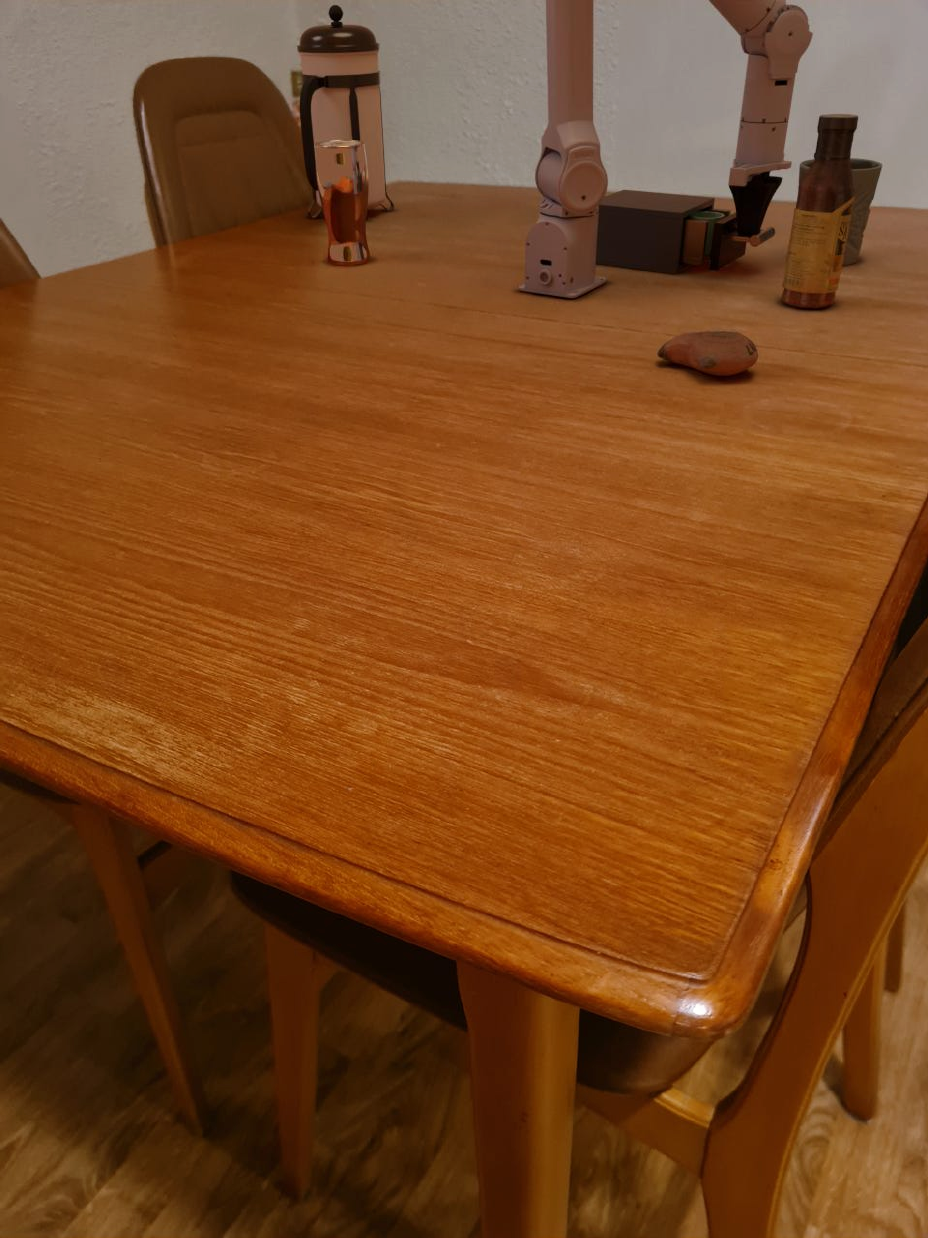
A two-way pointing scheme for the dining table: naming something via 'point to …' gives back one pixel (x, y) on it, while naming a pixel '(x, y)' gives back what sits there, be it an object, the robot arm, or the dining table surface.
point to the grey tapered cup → (856, 201)
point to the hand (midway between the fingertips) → (747, 237)
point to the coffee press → (342, 98)
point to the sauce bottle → (822, 217)
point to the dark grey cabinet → (644, 229)
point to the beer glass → (344, 199)
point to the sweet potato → (711, 351)
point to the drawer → (717, 241)
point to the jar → (711, 219)
